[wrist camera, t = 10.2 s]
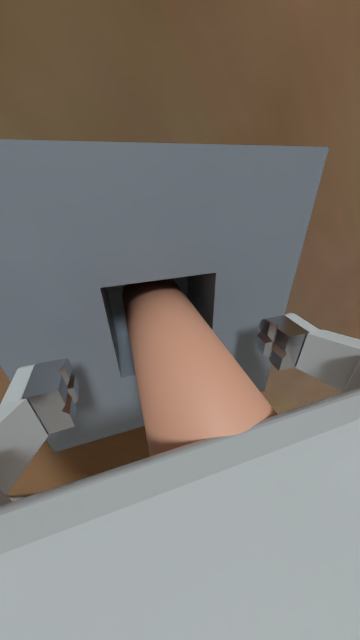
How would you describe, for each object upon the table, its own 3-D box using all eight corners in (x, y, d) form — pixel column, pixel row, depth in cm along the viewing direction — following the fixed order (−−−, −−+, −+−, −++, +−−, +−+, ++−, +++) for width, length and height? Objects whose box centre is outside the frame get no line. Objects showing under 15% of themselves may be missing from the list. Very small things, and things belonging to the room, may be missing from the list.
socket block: (254, 161, 13) (328, 147, 8) (230, 349, 20) (264, 390, 16) (-33, 160, 9) (-143, 135, 5) (66, 387, 16) (54, 452, 12)
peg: (176, 265, 13) (390, 488, 3) (177, 314, 15) (319, 552, 5) (117, 272, 12) (173, 595, 3) (127, 323, 14) (180, 626, 4)
